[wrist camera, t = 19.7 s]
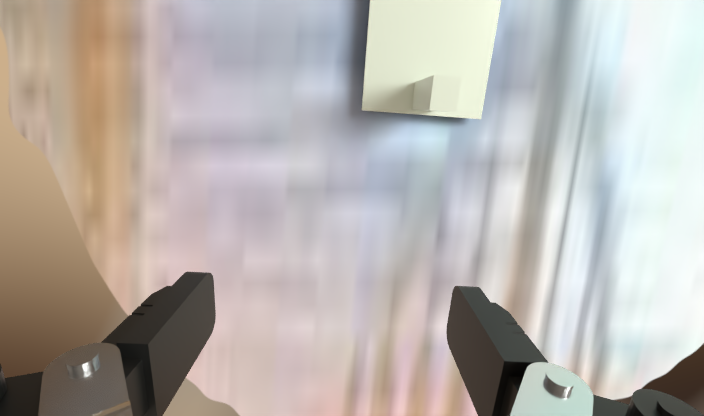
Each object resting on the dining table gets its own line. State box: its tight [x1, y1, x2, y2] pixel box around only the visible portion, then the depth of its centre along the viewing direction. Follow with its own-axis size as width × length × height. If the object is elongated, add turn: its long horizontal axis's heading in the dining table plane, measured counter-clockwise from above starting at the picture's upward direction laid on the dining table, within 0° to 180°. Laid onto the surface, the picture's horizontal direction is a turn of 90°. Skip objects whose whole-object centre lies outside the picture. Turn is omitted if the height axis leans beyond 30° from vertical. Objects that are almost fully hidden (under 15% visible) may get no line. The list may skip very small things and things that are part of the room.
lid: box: [362, 0, 501, 119], centre depth 34 cm, size 19×14×11 cm
